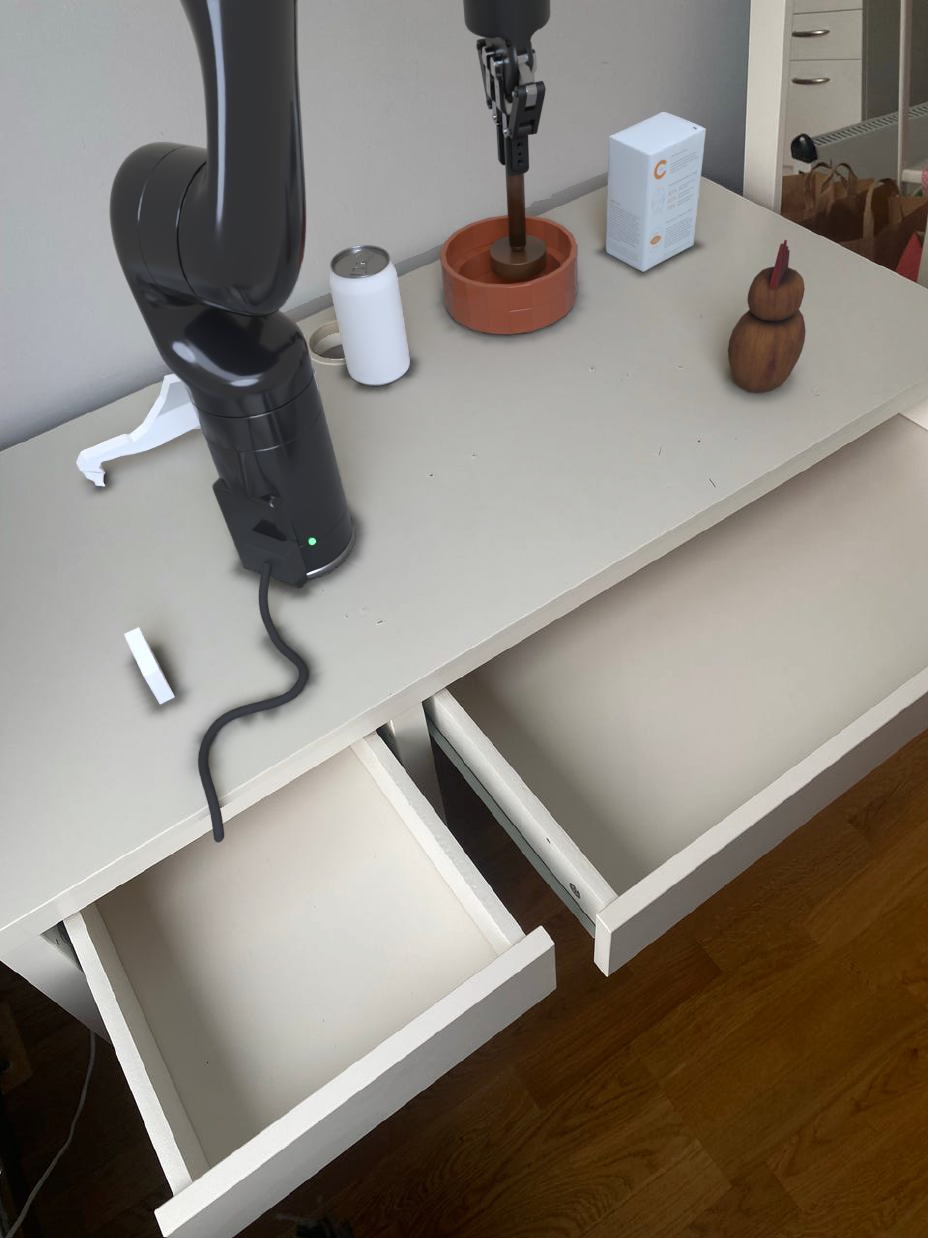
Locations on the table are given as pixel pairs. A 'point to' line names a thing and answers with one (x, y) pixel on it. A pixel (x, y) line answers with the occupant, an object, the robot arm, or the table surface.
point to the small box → (653, 189)
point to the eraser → (149, 665)
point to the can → (369, 314)
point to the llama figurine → (145, 430)
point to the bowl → (505, 301)
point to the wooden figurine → (769, 328)
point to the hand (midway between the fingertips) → (513, 166)
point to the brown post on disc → (517, 239)
